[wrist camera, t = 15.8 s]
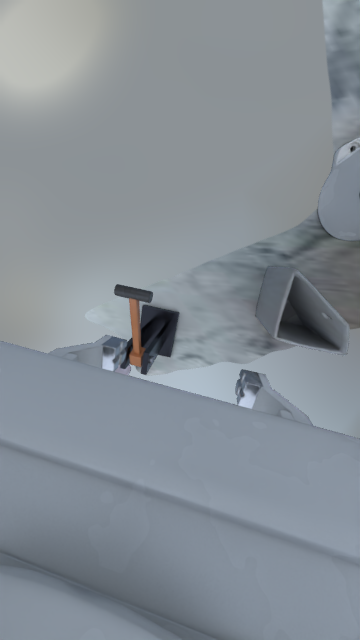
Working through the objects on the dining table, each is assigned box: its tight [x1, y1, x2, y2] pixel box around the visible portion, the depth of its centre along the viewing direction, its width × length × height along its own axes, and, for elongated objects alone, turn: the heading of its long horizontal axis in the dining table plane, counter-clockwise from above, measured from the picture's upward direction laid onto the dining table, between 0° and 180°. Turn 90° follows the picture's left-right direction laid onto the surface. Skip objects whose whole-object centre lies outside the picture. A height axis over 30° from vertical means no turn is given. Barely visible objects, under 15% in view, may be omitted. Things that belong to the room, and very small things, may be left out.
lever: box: [114, 284, 153, 367], centre depth 31 cm, size 16×5×2 cm, turn 170°
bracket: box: [120, 305, 179, 375], centre depth 41 cm, size 12×9×16 cm
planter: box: [255, 266, 349, 355], centre depth 33 cm, size 16×8×19 cm, turn 36°
